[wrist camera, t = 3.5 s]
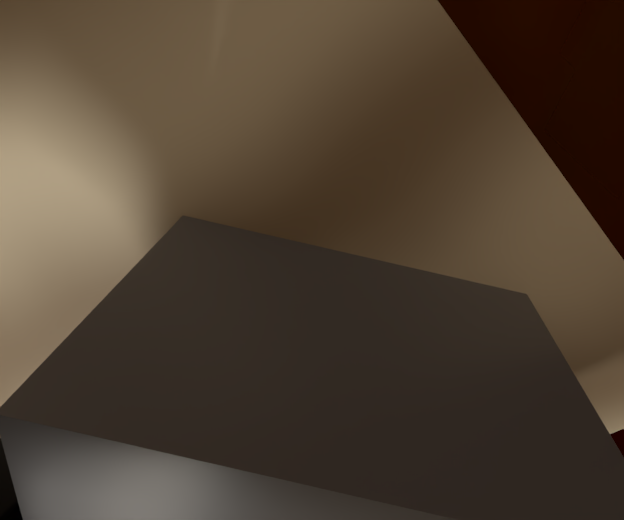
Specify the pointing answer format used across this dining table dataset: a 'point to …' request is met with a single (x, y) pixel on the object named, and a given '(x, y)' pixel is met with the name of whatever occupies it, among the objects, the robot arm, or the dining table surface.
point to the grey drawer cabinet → (305, 396)
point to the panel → (280, 160)
